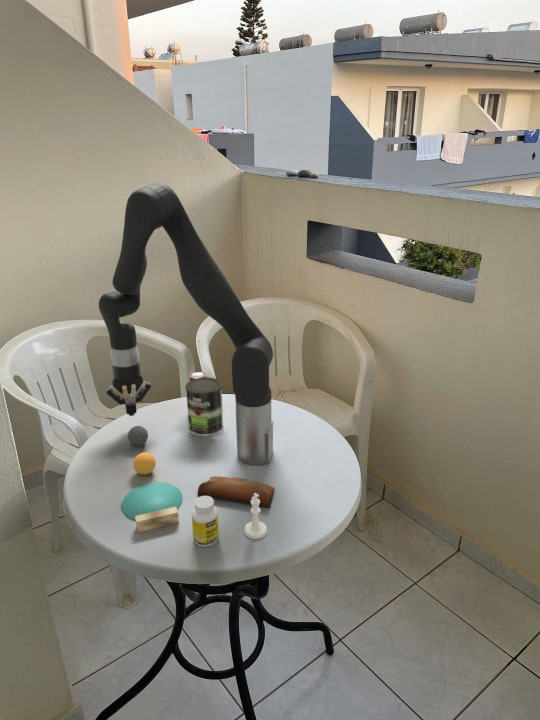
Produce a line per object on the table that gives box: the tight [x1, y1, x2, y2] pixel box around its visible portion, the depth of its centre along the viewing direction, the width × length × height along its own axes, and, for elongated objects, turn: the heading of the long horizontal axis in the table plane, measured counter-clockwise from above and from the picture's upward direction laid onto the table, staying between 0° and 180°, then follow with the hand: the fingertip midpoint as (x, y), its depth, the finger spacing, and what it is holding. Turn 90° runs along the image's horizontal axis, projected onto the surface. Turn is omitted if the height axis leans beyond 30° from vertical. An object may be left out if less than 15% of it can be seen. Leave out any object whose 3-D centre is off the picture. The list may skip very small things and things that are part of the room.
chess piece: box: [244, 493, 268, 540], centre depth 108 cm, size 5×5×10 cm
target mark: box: [121, 481, 183, 522], centre depth 119 cm, size 14×14×1 cm
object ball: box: [132, 452, 156, 476], centre depth 128 cm, size 6×6×6 cm
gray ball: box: [127, 425, 149, 447], centre depth 140 cm, size 6×6×6 cm
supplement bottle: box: [191, 496, 220, 548], centre depth 106 cm, size 5×5×10 cm
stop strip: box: [135, 507, 180, 534], centre depth 111 cm, size 9×2×3 cm, turn 110°
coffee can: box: [185, 376, 224, 437], centre depth 147 cm, size 10×10×14 cm
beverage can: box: [189, 371, 207, 381], centre depth 157 cm, size 5×5×12 cm
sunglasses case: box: [197, 476, 276, 508], centre depth 121 cm, size 18×7×7 cm, turn 77°
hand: (131, 414), depth 148 cm, fingers closed
